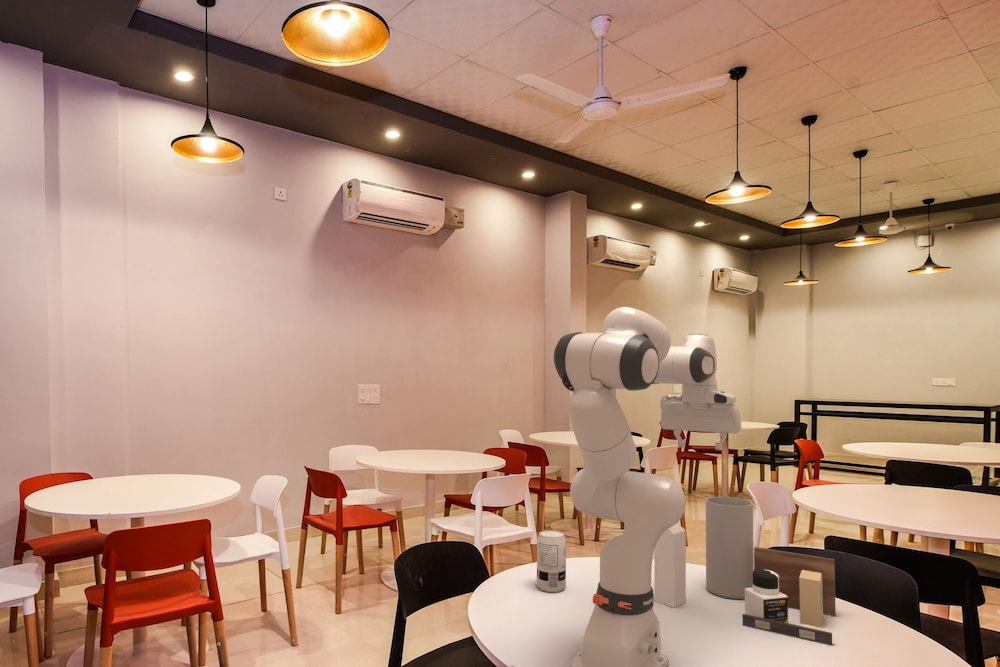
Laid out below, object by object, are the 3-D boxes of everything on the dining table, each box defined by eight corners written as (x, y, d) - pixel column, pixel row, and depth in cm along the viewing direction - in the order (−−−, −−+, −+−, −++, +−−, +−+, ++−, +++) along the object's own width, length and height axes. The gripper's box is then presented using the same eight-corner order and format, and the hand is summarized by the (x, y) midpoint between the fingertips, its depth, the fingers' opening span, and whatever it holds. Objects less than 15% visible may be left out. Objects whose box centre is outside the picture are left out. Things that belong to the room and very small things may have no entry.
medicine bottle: (764, 628, 142) (763, 577, 142) (744, 616, 148) (743, 568, 149) (788, 625, 143) (788, 575, 144) (768, 614, 150) (767, 566, 151)
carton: (823, 617, 149) (822, 573, 149) (821, 627, 143) (820, 581, 143) (802, 613, 151) (801, 569, 152) (800, 623, 145) (799, 577, 146)
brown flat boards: (832, 645, 133) (830, 582, 134) (742, 625, 143) (741, 566, 144) (835, 615, 150) (834, 559, 151) (755, 599, 160) (754, 546, 161)
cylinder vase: (757, 602, 158) (756, 507, 160) (708, 597, 161) (707, 504, 163) (750, 586, 170) (749, 498, 172) (704, 581, 173) (704, 495, 175)
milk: (685, 602, 157) (686, 518, 159) (673, 608, 153) (674, 522, 155) (665, 595, 162) (666, 514, 163) (653, 601, 158) (654, 517, 159)
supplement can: (531, 585, 168) (532, 531, 169) (556, 581, 171) (557, 528, 172) (545, 595, 161) (546, 538, 162) (571, 590, 164) (571, 535, 165)
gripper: (657, 395, 158) (657, 446, 158) (737, 397, 148) (738, 453, 147) (663, 394, 164) (663, 444, 163) (742, 396, 153) (742, 450, 153)
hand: (700, 448), depth 155 cm, fingers open, 8 cm apart
